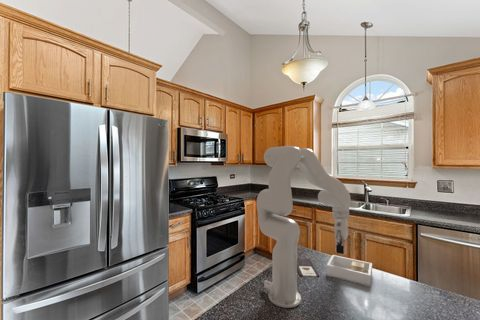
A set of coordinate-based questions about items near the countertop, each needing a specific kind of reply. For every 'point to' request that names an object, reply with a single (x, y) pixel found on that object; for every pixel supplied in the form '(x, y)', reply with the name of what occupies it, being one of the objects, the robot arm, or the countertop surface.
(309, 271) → the chocolate bar
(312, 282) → the countertop surface
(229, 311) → the countertop surface
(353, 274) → the tote
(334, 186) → the robot arm
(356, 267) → the wood cube
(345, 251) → the terracotta cylinder
